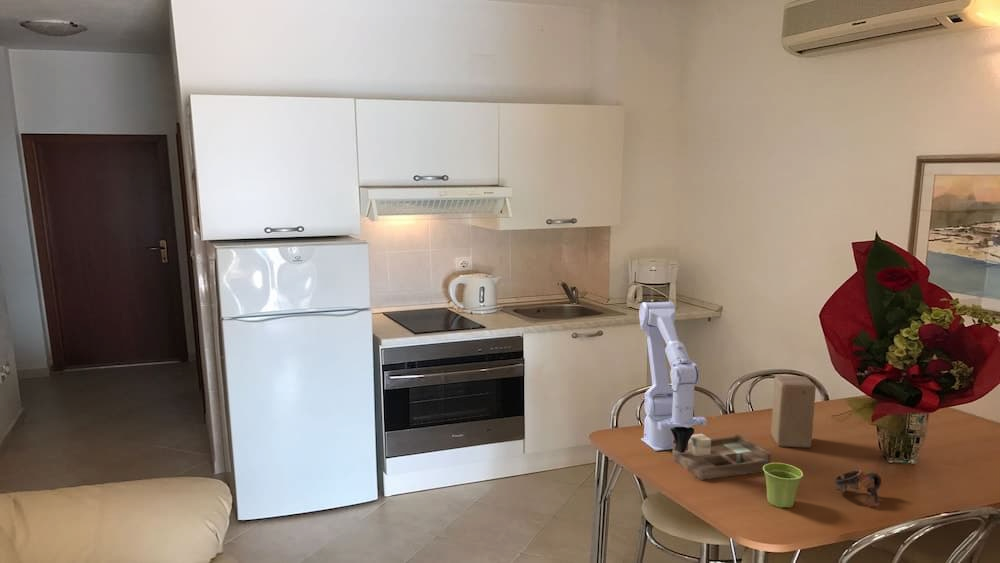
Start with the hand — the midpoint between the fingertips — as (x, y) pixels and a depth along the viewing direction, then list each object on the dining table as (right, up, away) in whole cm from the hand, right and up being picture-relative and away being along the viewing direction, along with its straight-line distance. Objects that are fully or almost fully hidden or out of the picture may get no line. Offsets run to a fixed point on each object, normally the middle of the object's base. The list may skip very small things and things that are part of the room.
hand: (680, 451), depth 197 cm
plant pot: (+19, -8, -22) cm, 30 cm away
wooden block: (+39, -2, +18) cm, 42 cm away
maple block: (+6, -1, +2) cm, 6 cm away
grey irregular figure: (+41, -8, -19) cm, 46 cm away
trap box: (+11, -4, +1) cm, 12 cm away
